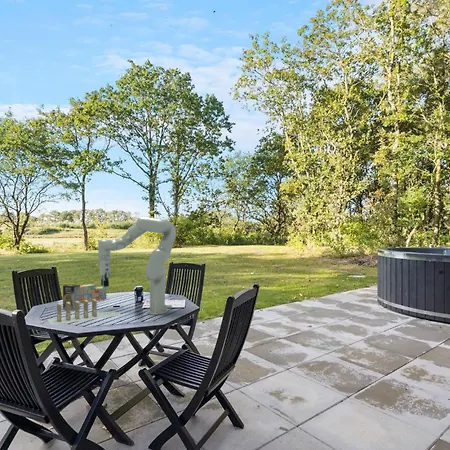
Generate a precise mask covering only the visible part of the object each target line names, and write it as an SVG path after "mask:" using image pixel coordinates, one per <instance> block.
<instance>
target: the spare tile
mask: <svg viewBox="0 0 450 450" xmlns="http://www.w3.org/2000/svg"><path fill="white" fill-rule="evenodd" d="M105 276H106V275H105ZM102 287H103V289H104V290H106V291H108V286H107V287H104V276H103V286H102Z"/></svg>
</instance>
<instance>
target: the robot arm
mask: <svg viewBox="0 0 450 450" xmlns="http://www.w3.org/2000/svg"><path fill="white" fill-rule="evenodd" d="M148 232H150V233H156V234H162V237H161V239H160V240H159V244H158V247H157V248H155V249H154V250H152V252H151V253H150V255H149V259H148V261H147V264H146V267H145V277H146V278H147V279H148V280H149V281H150V282H149V309H148V310H147V314H149V315H154V316H155V315H158V316H159V315H164V314H166V313H168V309H172V308H173V305H172V304H169V305H168V304H167V305H166V274H167V270H166V267H165V266H164V264H165V263H166V262H167V261H168V260H169V259H170V256H171V253H172V250H173V247H174V243H175V240H176V236H177V230H176V227H175V226H174V224H173V223H172V222H171V221H170V220H167V219H157V218H152V217H149V216H140V217H138V218H137V220H136V221H135V222H134V224H132V225H130V226H129V227H128V228H127V232H126V233H125V234H123V235H122V236H120V237H119V238H115V239H99V240H98V241H97V243H98V245H97V246H98V247H97V248H98V253H97V254H98V261H99V274H100V285H101V287H103V276H104V287H107V288H108V287H109V285H110V281H109V280H110V276H111V275H112V268H111V252H115V251H121V250H124V249H125V248H127V247H128V246H129V245H131V244H132V243H133V242H134V241H135V240H137V239H138V238H139V237H141V236H142V235H144V234H146V233H148ZM105 275H106V276H105Z"/></svg>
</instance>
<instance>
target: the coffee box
mask: <svg viewBox="0 0 450 450" xmlns="http://www.w3.org/2000/svg"><path fill="white" fill-rule="evenodd" d="M80 286H81V285H79V284H65V285H64V284H63V286H62V310H65V311H66V302H70V303H71V311H75V301H79V302H80Z"/></svg>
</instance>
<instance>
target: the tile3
mask: <svg viewBox="0 0 450 450" xmlns="http://www.w3.org/2000/svg"><path fill="white" fill-rule="evenodd" d="M88 314H89V302H88V301H87V300H84V303H83V315H84V317H85V318H88Z"/></svg>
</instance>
